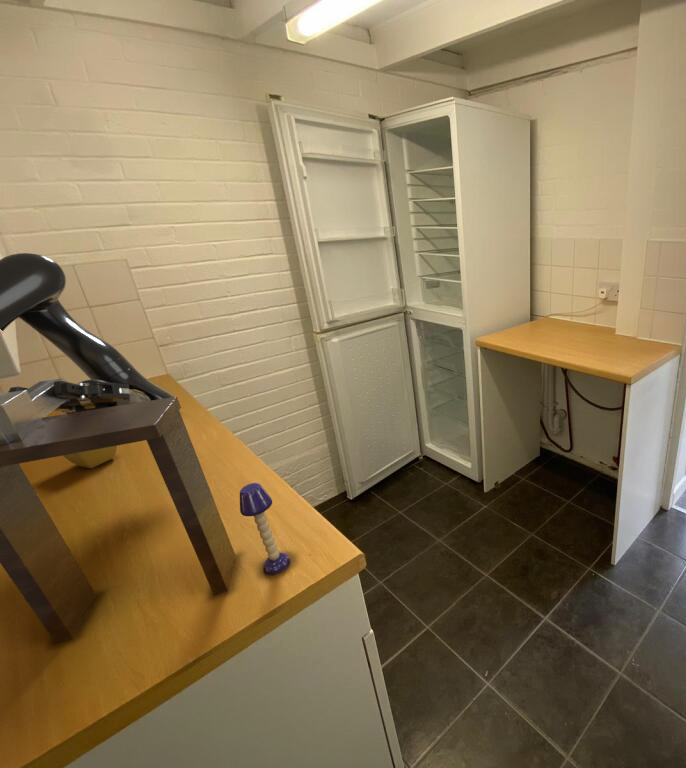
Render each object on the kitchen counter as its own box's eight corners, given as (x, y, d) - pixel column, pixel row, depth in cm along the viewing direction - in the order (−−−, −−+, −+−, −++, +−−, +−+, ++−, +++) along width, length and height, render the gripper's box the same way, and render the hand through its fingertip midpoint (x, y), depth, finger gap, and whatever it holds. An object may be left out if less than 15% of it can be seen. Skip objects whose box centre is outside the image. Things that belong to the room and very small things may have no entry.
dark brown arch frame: (51, 649, 61) (-78, 465, 48) (85, 595, 69) (-18, 426, 56) (226, 596, 68) (155, 424, 56) (237, 553, 77) (177, 396, 64)
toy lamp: (255, 573, 72) (226, 495, 66) (273, 553, 77) (248, 478, 70) (280, 576, 72) (253, 498, 65) (297, 555, 76) (273, 480, 69)
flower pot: (64, 469, 104) (47, 437, 100) (105, 450, 112) (90, 421, 108) (86, 474, 101) (70, 443, 98) (127, 455, 109) (113, 425, 105)
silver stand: (-36, 451, 50) (-59, 415, 48) (40, 400, 64) (24, 370, 62) (19, 442, 52) (-1, 406, 50) (81, 394, 66) (67, 364, 64)
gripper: (52, 390, 74) (-36, 374, 58) (150, 376, 79) (94, 357, 63) (57, 432, 73) (-30, 426, 57) (156, 415, 78) (101, 406, 62)
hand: (36, 390), depth 60 cm, fingers open, 4 cm apart
